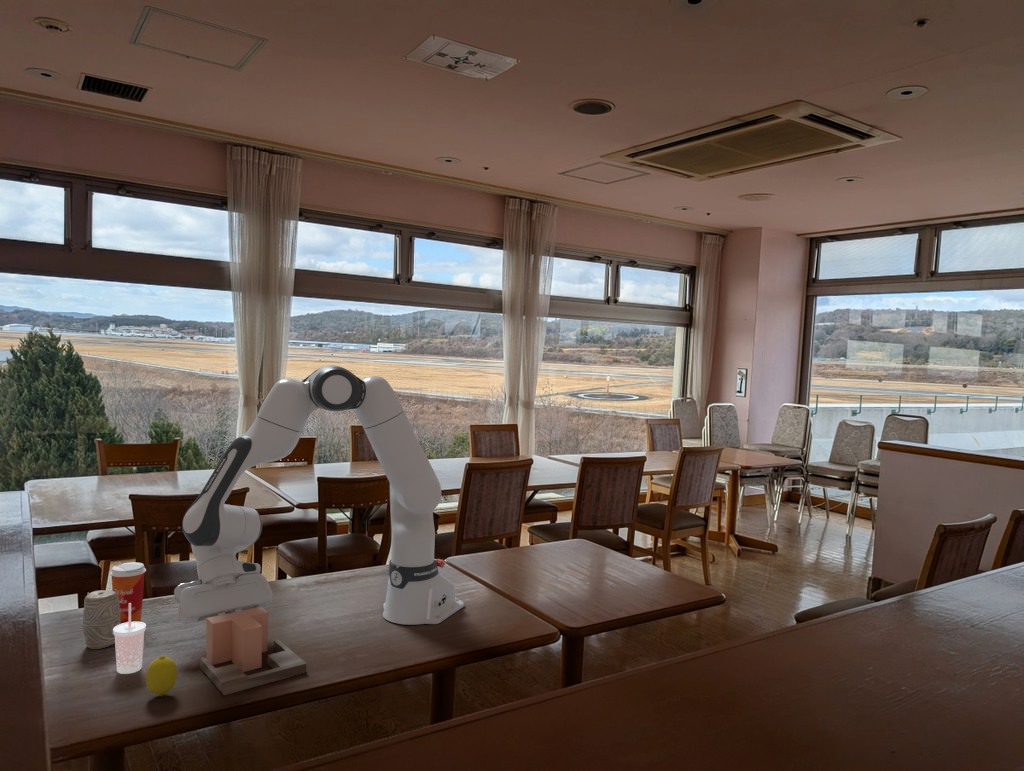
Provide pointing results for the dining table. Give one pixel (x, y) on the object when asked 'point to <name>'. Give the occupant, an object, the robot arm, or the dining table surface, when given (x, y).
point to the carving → (100, 618)
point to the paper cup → (129, 589)
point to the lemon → (161, 675)
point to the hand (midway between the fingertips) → (233, 631)
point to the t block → (238, 638)
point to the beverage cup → (129, 645)
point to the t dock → (237, 680)
